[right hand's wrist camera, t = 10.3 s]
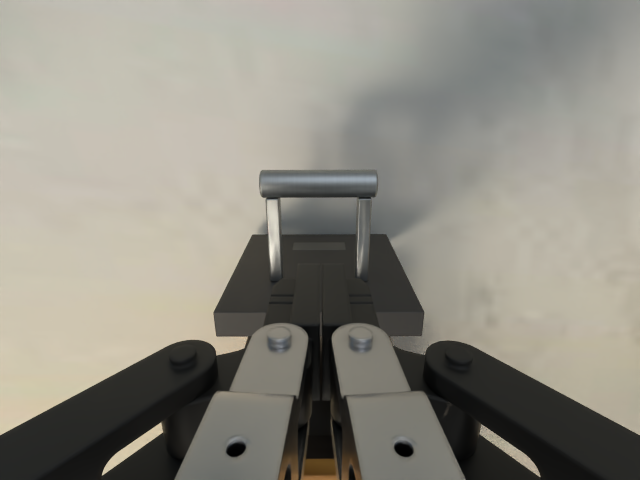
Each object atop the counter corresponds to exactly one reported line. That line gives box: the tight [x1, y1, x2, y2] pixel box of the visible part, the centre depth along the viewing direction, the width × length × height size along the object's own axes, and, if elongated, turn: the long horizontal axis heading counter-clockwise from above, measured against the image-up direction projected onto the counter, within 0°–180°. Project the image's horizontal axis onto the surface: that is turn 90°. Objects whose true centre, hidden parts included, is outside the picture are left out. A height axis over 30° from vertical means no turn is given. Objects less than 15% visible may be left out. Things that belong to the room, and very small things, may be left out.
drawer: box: [214, 170, 424, 459], centre depth 22 cm, size 22×9×10 cm, turn 0°
